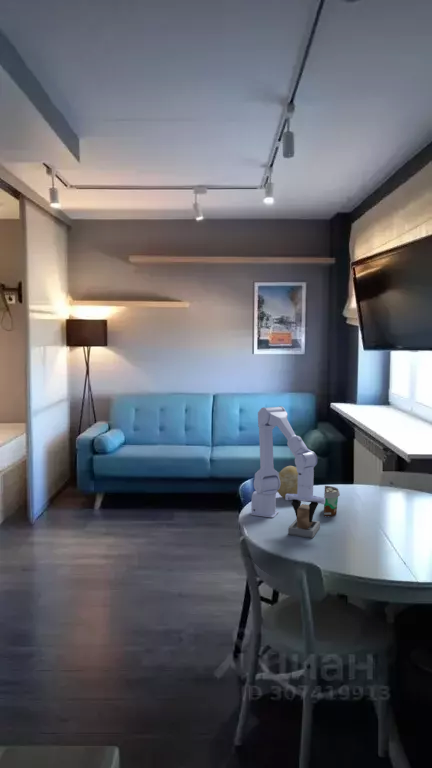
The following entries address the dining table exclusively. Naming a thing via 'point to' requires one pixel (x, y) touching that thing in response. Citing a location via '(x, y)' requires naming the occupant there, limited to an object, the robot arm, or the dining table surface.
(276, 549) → the dining table surface
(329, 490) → the food container
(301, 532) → the grey shallow tray
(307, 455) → the robot arm
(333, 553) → the dining table surface
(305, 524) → the brown block
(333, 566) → the dining table surface
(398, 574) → the dining table surface
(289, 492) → the fossilized egg
